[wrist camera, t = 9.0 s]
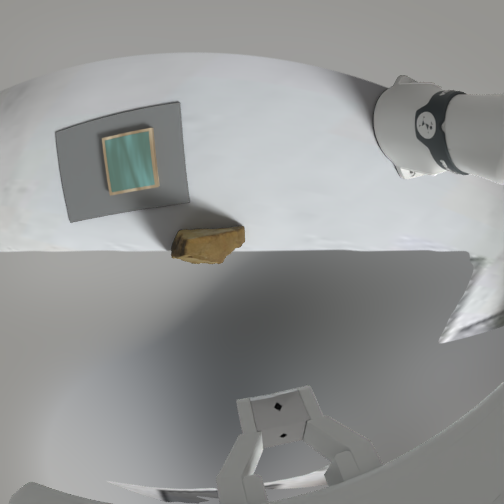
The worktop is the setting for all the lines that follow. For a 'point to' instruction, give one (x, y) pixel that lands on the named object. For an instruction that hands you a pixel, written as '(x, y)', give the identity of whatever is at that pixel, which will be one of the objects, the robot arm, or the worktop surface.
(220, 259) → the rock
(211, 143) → the worktop surface
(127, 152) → the coaster
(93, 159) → the mat
